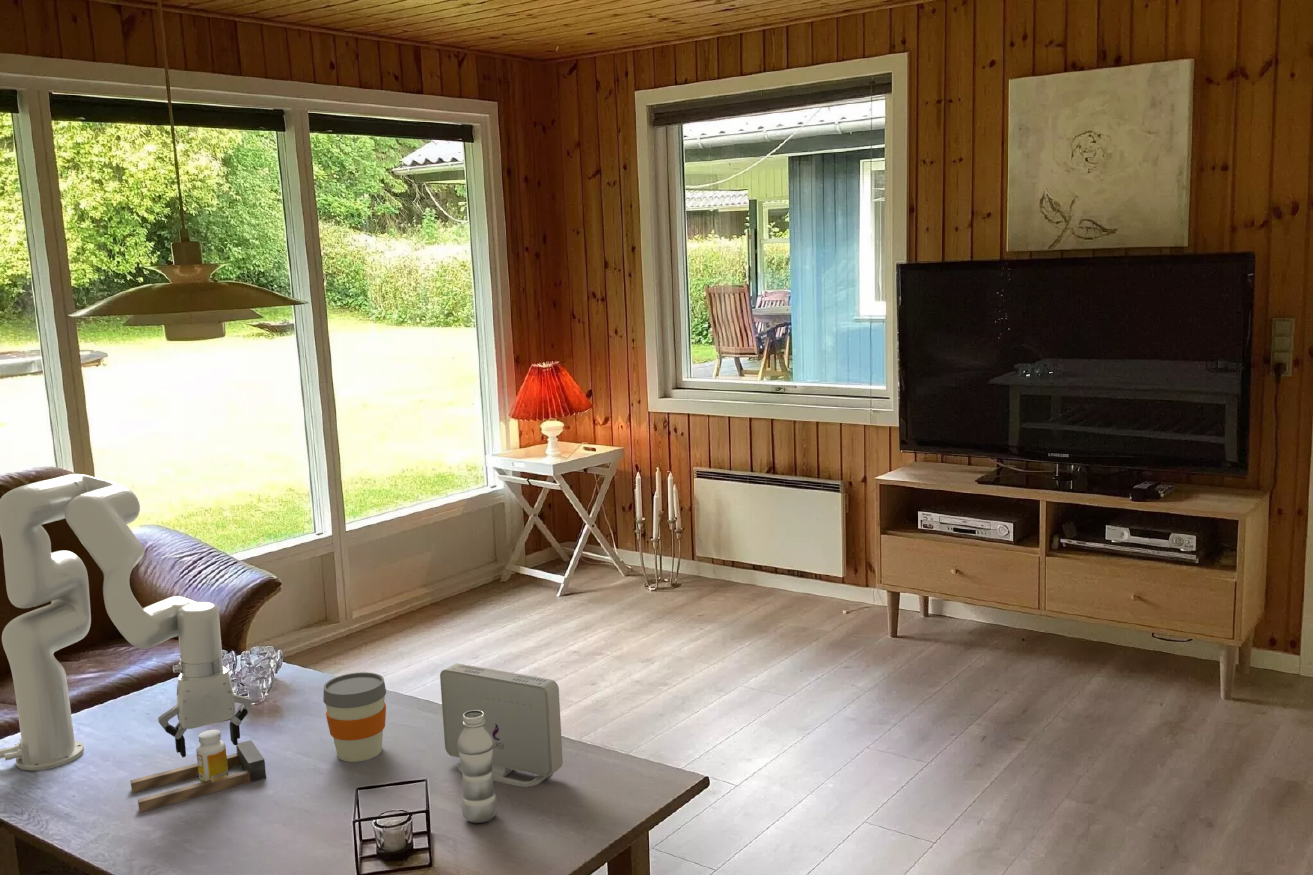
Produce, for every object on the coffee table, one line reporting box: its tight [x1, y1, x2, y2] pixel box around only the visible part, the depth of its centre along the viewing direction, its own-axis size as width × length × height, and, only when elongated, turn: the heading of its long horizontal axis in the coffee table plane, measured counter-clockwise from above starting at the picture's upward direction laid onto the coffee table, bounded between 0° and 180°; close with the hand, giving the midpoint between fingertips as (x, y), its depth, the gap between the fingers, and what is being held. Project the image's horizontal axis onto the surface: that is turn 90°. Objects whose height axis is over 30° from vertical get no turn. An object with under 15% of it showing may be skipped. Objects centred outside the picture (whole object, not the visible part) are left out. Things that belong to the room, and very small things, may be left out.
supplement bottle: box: [195, 729, 230, 783], centre depth 221 cm, size 5×5×10 cm
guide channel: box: [130, 739, 267, 813], centre depth 220 cm, size 23×11×4 cm, turn 122°
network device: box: [439, 663, 564, 788], centre depth 219 cm, size 26×9×20 cm, turn 62°
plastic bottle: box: [457, 710, 499, 824], centre depth 201 cm, size 6×7×20 cm
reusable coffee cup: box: [322, 671, 387, 763], centre depth 231 cm, size 13×13×15 cm
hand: (208, 748), depth 221 cm, fingers open, 9 cm apart
